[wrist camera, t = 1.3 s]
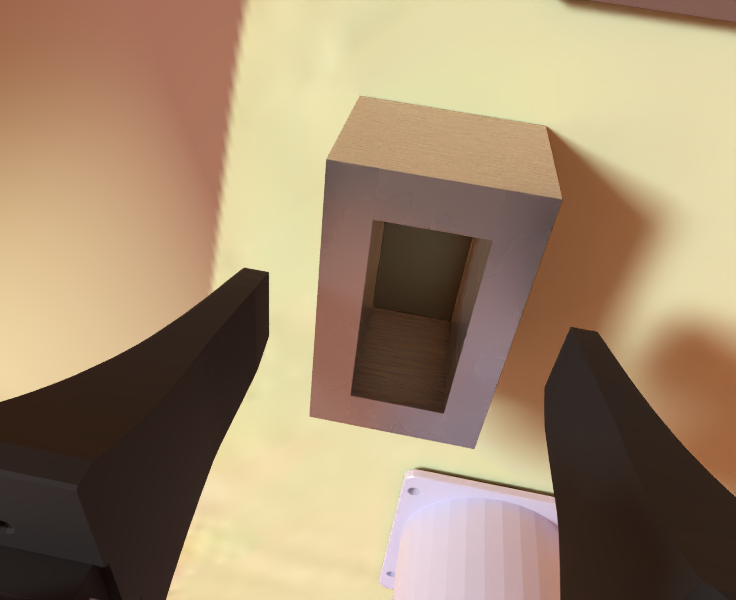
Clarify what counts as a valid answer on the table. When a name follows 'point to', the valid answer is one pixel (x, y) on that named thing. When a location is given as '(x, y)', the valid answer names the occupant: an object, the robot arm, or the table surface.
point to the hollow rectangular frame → (440, 213)
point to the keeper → (686, 7)
